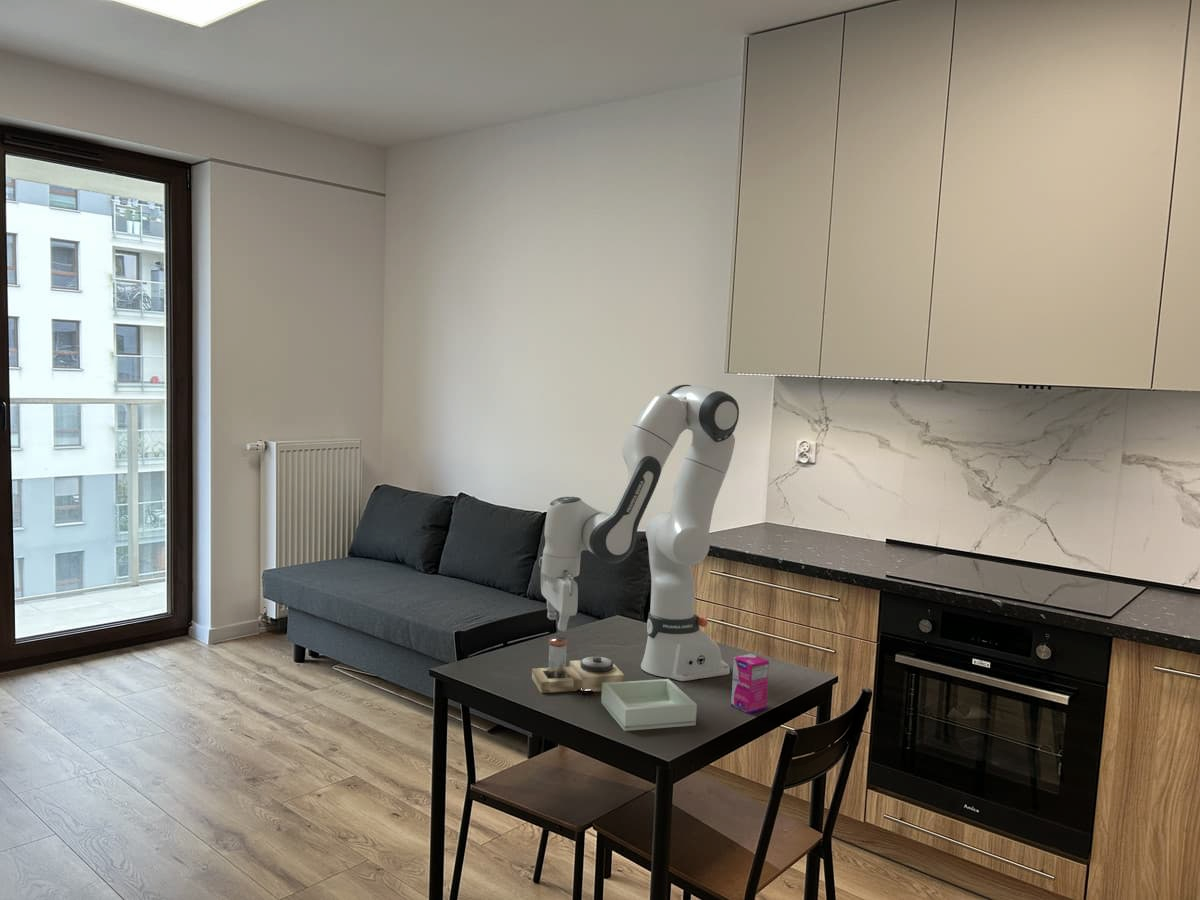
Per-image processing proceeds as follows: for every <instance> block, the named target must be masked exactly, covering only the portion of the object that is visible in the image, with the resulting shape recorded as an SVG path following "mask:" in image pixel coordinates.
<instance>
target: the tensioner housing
mask: <svg viewBox="0 0 1200 900" xmlns="http://www.w3.org/2000/svg"><path fill="white" fill-rule="evenodd" d="M548 668H549V667H537V668H534V667H533V668H531V680H532V681H533V683H534V684H535V685H536V687H537V689H538V690H539V692H540V693H541V694H544V693H545V694H548V693H559V692H561V693H562V692H564V693H565V692H575V691H576V692H577V690H579V689H580V688H582V690H583V691H584V690H585V689H591V690H592V691H593V692H602V683H611V682H625V677H626V675H625V673H624V672H622V671H621V670H620V669H619V668H618V667H617V665H616V664H615V663H614V661H612V660H611V659H610V658H607V657H603V656H588V657H584V658H582V659H580V660H579V659H578V660H576V659H575V660H569V666H566V669H565V678H554V679H548ZM582 690H581V691H582ZM579 691H580V690H579Z"/></svg>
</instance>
